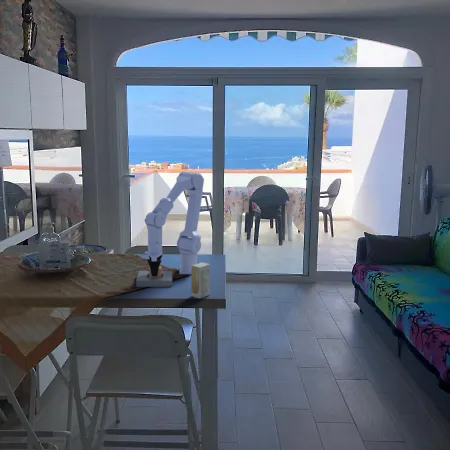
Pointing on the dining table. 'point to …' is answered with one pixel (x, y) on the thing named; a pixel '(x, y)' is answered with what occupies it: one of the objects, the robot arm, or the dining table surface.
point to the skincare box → (200, 280)
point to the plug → (157, 275)
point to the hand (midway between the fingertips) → (155, 273)
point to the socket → (154, 279)
